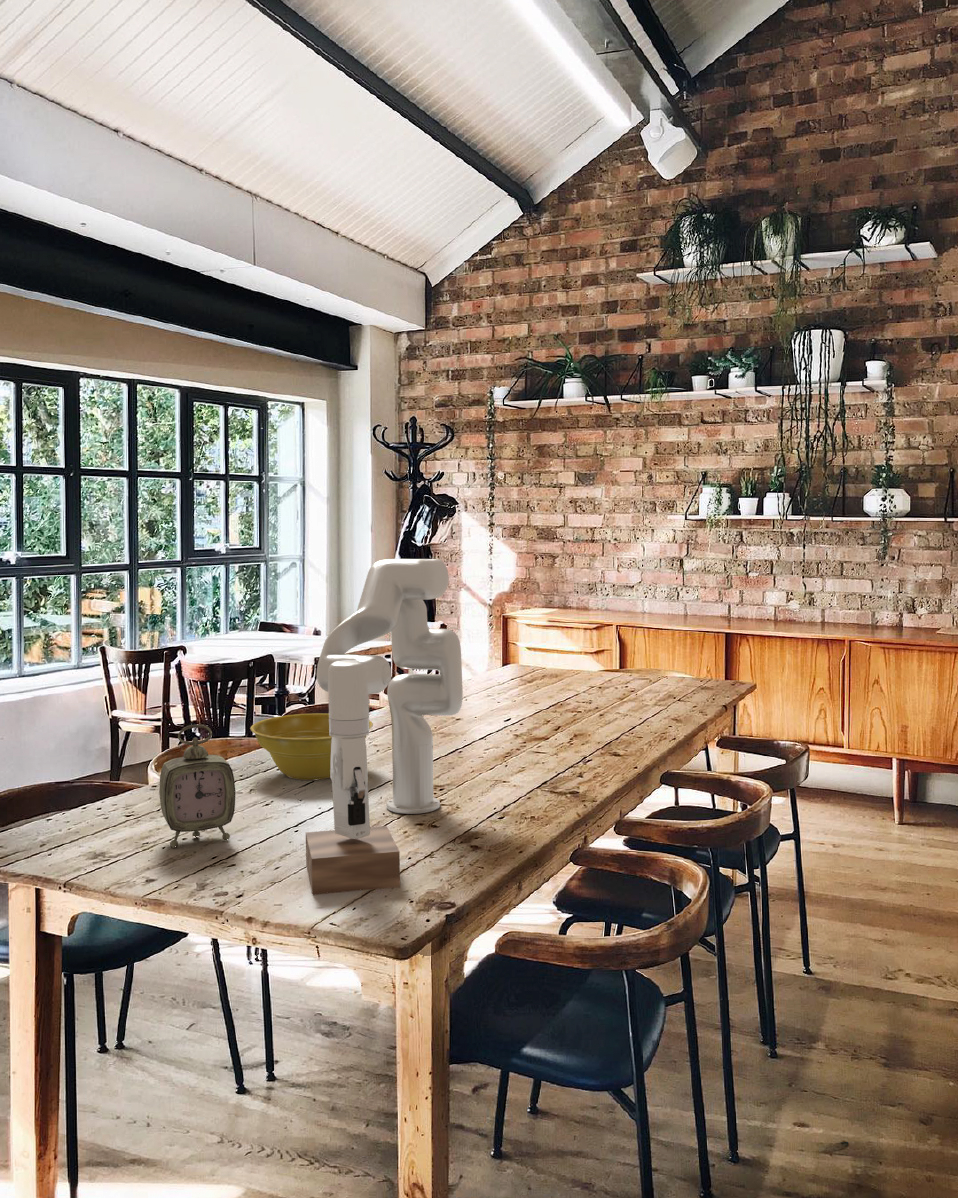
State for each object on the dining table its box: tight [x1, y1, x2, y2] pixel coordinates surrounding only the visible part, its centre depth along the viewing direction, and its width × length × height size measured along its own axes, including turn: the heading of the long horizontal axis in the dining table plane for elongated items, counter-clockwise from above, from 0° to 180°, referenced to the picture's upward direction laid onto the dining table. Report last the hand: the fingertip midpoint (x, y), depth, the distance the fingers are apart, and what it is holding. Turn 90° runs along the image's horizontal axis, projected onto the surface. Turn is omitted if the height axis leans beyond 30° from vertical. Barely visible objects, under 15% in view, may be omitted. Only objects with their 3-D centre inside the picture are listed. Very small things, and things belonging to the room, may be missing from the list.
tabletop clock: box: [158, 723, 237, 848], centre depth 215 cm, size 14×9×25 cm, turn 115°
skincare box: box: [331, 772, 371, 839], centre depth 193 cm, size 6×4×12 cm
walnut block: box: [305, 825, 401, 896], centre depth 194 cm, size 16×16×7 cm
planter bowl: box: [249, 713, 374, 781], centre depth 271 cm, size 32×32×13 cm
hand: (351, 818), depth 193 cm, fingers closed on skincare box, 7 cm apart
